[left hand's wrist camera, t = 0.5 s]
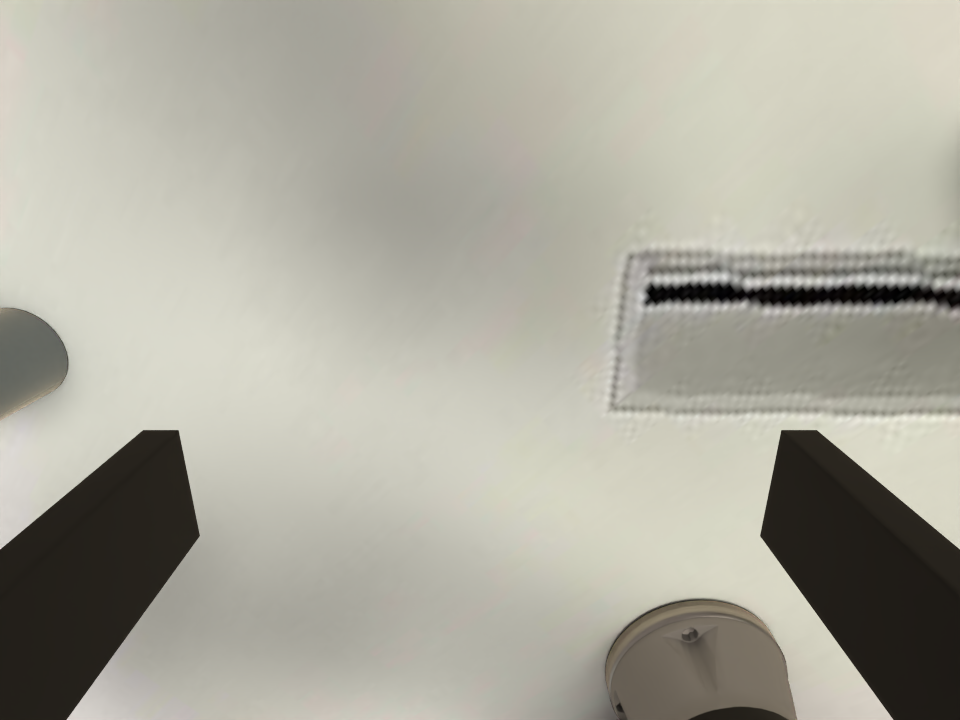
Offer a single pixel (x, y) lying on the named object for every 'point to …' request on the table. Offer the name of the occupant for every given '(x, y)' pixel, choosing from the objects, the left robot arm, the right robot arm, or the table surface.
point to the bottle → (28, 360)
